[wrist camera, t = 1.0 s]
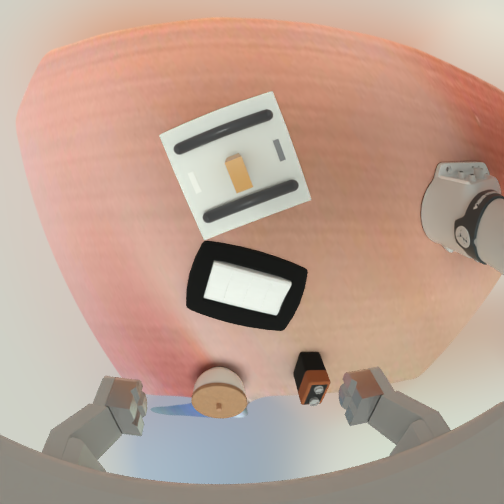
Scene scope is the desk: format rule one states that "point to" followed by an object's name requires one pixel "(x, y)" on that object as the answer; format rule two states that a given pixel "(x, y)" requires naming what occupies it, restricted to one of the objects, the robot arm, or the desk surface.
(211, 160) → the box
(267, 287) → the black picture frame
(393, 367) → the desk surface
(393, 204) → the desk surface
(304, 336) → the desk surface
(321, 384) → the battery
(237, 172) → the lever
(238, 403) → the lidded jar
